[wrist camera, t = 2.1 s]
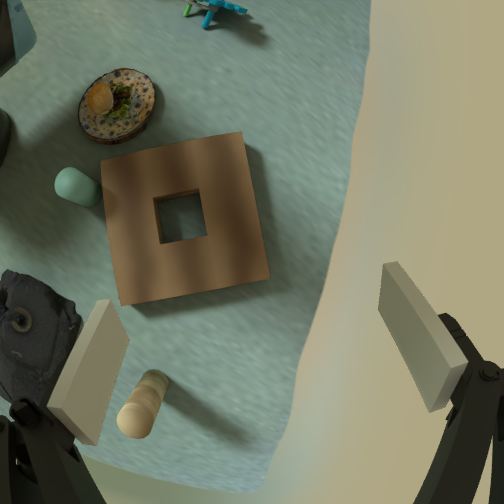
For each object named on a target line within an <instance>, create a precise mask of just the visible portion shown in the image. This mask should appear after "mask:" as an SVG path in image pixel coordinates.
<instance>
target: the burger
mask: <svg viewBox="0 0 504 504" xmlns="http://www.w3.org/2000/svg"><path fill="white" fill-rule="evenodd" d="M155 99H156V91H155V87H154V85H153V83H152V81H151V79H150V78H149V77H148V76H147V75H145V74H143V73H141V72H139V71H137V70H135V69H128V68H120V69H115V70H114V71H112V72H110V73H108V74H104V75H103V76H102V77H99V78H98V79H97V80H95V82H93V83H92V84H91V86H90V87H89V88H88V89H87V91H86V92H85V94H83V97H82V99H81V101H80V103H79V109H78V119H79V125H80V127H81V128H82V129H83V131H84V132H85V133H86V135H87V136H88V137H89V138H90V139H92V140H93V141H95V142H97V143H101V144H107V145H113V144H120V143H123V142H126V141H129V140H130V139H132V138H134V137H136V136H137V135H138V134H139V133H141V132H142V131H143V130H144V129H145V128H146V124H147V121H148V119H149V118H150V116H151V115H152V113H153V111H154V108H155Z"/></svg>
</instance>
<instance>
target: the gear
mask: <svg viewBox="0 0 504 504" xmlns="http://www.w3.org/2000/svg"><path fill="white" fill-rule="evenodd" d="M197 1H201V2H203V1H206V2H209V3H210V4H209V6H205V5H202V4H199V3H197ZM197 1H196V0H187V1H186V3H188V6H187V8H186V10H185V13H184V16H188V14H189V12H190V10H191V7H192V5H195V6H198V7H201V8H204V9H207V10H209V11H208V13H207V15H206V17H205V19H204V22H203V24H202V26H201V27H204V28H208V26H209V24H210V21H211V19H212V17H213V15H214V13H215V12H217V11H218V9H219V7H221V6H222V7H224V8H227V9H230V10H235V11H237V12H239V13H244V14H246V12H247V9H245V8H243V7H240V6H237V5H235V4H232V3H229V2H226V1H224V0H197Z"/></svg>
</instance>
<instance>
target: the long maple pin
mask: <svg viewBox="0 0 504 504" xmlns="http://www.w3.org/2000/svg"><path fill="white" fill-rule="evenodd" d="M168 385H169V381H168V378H167V377H166V375H165V374H164V373H163V372H161V371H159V370H154V369H153V370H149V371H147V372H146V373H145V374H144V375H143V377H142V378H141V380H140V381H139V383H138V384H137V386H136V387H135V389H134V390H133V392H132V394H131V395H130V397H129V398H128V400H127V401H126V403H125V404H124V406H123V408H122V409H121V411H120V412H119V414H118V416H117V424H118V427H119V428H120V430H121V431H122V432H123V433H124V434H125V435H127V436H129V437H131V438H136V439H141V438H144V437H146V436H148V435H149V433H150V432H151V429H152V426H153V424H154V421H155V419H156V416H157V414H158V411H159V409H160V406H161V403H162V401H163V398H164V396H165V393H166V391H167V388H168Z"/></svg>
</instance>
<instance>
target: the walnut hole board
mask: <svg viewBox="0 0 504 504" xmlns="http://www.w3.org/2000/svg"><path fill="white" fill-rule="evenodd" d="M100 167H101V179H102V190H103V200H104V208H105V217H106V224H107V232H108V238H109V245H110V251H111V257H112V263H113V269H114V274H115V280H116V285H117V290H118V295H119V300H120V304H121V306H126V305H131V304H137V303H143V302H149V301H154V300H160V299H166V298H171V297H177V296H182V295H188V294H193V293H199V292H204V291H209V290H215V289H220V288H225V287H230V286H235V285H240V284H246V283H251V282H256V281H261V280H266V279H270V273H269V268H268V262H267V257H266V252H265V247H264V241H263V236H262V231H261V226H260V221H259V215H258V210H257V205H256V200H255V195H254V190H253V185H252V180H251V175H250V170H249V165H248V160H247V155H246V150H245V145H244V140H243V135H242V132H235V133H228V134H222V135H216V136H210V137H204V138H199V139H193V140H188V141H183V142H178V143H173V144H168V145H163V146H159V147H154V148H150V149H145V150H141V151H137V152H133V153H129V154H125V155H121V156H117V157H113V158H109V159H106V160H102V161H100ZM195 194H200V197H201V203H202V209H203V214H204V220H205V226H206V231H207V236H202V237H196V238H191V239H186V240H181V241H176V242H171V243H166V244H164V240H163V234H162V228H161V222H160V216H159V209H158V203H157V202H160V201H165V200H170V199H175V198H180V197H185V196H190V195H195Z"/></svg>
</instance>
